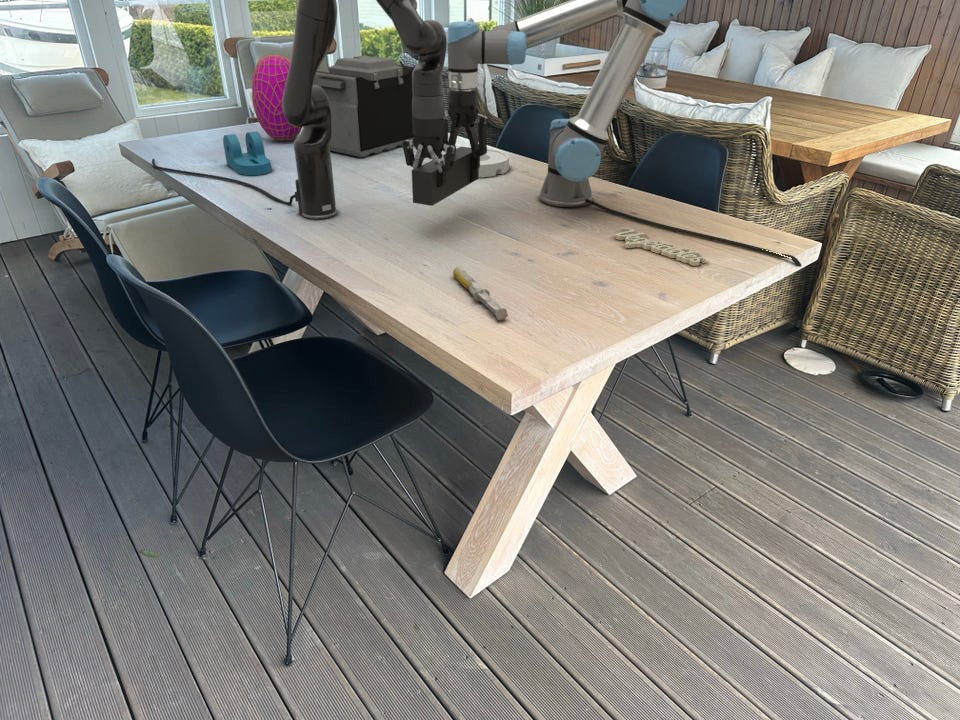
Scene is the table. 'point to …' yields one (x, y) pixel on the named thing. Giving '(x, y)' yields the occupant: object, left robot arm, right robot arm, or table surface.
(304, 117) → the left robot arm
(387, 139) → the cooler box
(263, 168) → the camera mount
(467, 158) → the bar
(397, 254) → the table surface
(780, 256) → the right robot arm
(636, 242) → the decorative sign
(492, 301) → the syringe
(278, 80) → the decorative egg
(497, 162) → the ashtray
